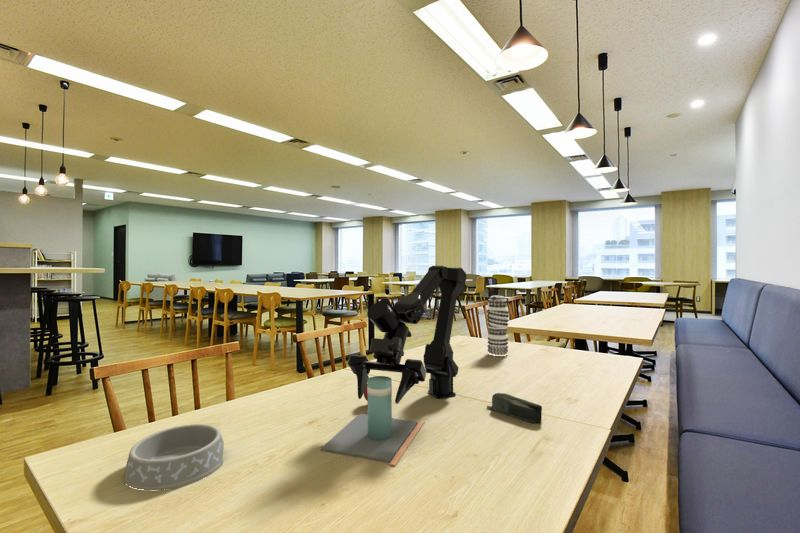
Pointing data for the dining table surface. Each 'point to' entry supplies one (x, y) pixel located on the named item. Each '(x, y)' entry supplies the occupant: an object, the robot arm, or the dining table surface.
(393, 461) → the orange strip
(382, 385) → the teal cylinder
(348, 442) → the mat
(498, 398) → the black stapler
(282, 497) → the dining table surface
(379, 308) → the robot arm
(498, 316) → the grey patterned cylinder
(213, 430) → the dog bowl
